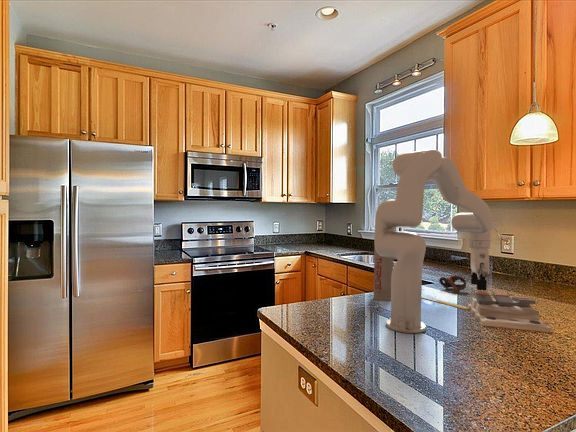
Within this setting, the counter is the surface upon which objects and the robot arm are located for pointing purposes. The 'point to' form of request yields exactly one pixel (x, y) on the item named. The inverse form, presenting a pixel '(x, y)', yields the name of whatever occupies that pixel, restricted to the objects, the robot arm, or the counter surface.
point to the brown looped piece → (453, 283)
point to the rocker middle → (503, 299)
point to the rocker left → (483, 297)
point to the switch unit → (508, 316)
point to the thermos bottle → (382, 277)
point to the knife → (448, 303)
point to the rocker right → (523, 300)
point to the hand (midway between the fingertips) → (478, 287)
